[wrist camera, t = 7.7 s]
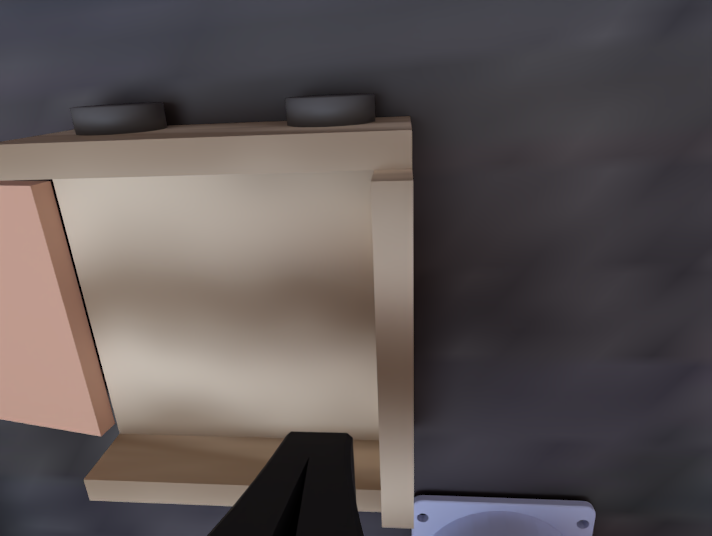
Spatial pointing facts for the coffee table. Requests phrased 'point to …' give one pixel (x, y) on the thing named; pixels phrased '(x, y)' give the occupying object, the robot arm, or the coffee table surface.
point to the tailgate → (44, 320)
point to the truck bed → (242, 291)
